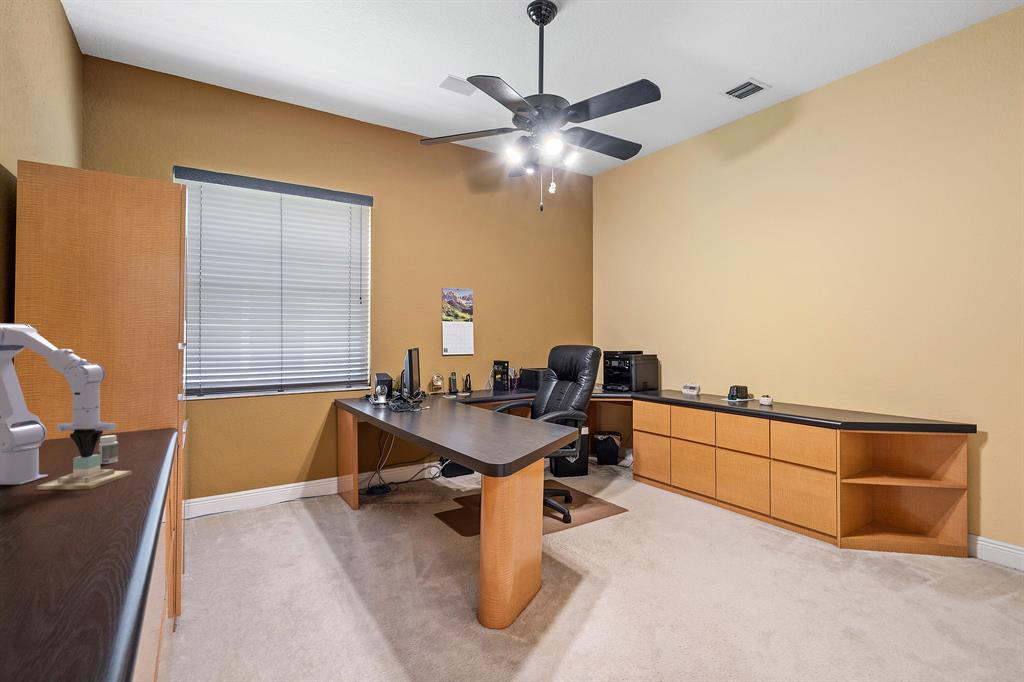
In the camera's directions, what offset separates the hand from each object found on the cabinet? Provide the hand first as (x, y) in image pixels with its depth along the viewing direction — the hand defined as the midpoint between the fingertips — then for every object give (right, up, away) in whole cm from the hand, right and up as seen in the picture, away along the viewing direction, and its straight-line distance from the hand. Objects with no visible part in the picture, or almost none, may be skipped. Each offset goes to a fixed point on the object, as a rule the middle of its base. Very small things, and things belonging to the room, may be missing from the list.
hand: (86, 456), depth 134 cm
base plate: (0, -7, 0) cm, 7 cm away
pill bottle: (-11, -7, +21) cm, 25 cm away
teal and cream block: (0, -6, 0) cm, 6 cm away
